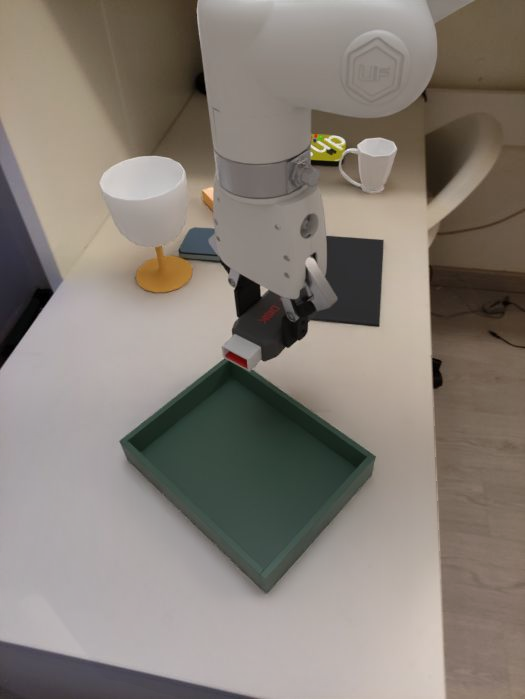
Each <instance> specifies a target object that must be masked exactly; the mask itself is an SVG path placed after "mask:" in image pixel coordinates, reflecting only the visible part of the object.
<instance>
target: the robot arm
mask: <svg viewBox="0 0 525 699" xmlns="http://www.w3.org/2000/svg"><path fill="white" fill-rule="evenodd" d="M475 1H476V0H197V5H196V6H197V7H196V14H197V16H196V17H197V27H198V28H197V30H198V36H199V42H200V43H199V44H200V52H201V60H202V68H203V77H204V84H205V85H204V86H205V92H206V101H207V108H208V117H209V124H210V133H211V140H212V141H211V142H212V147H213V154H214V155H213V156H214V165H215V172H214V176H213V177H214V179H213V186H214V189H213V211H212V212H213V213H212V214H213V228H214V229H215V233H214V234H213V235H212V236H211V237H210V238H209V239H208V242H209V244H210V246H211V247H212V248H213V250H214V251H215V252H216V254H217V255H218V257H219V256H220V261H219V262H220V264H221V266H222V267H223V269H224V270H225V271H226V273H227V274H228V277H227V282H228V284H229V286H231V287H232V288H234V289H233V296H234V304H235V314H236V317H237V319H238V318H239V317H241V316H242V315H243V314H244V313H245V312H246V311H247V310H248V309H249V308H250V307H251V306H252V305H253V304H254V303H255V302H256V301H257V300H258V299H259V298H260V297H261V296H262V293H261V291H262V290H261V287H263V288H264V289H267V291H268V290H270V291H272V292H274V293H276V294H278V295H280V297H281V300H282V303H283V306H284V309H285V312H286V314H285V315H284V316H283V317H282V340H283V345H284V346H285V348H287V349H289V348H291V347H292V346H293V345H294V344H295V343H296V342H298V341H301V340H303V339H305V337H306V336H307V334H308V331H309V322H308V315H310V314H312V313H313V312H316V311H317V312H318V311H322V310H325V309H328V308H329V307H331V306H332V305H333V304H334V303H335V302H336V301H337V300H338V299H337V296H336V294H335V292H334V291H333V289H332V287H331V286H330V284H329V283H328V281H327V279H326V278H325V275H326V268H327V240H326V236H327V225H326V216H325V209H324V203H323V198H322V193H321V189H320V185H319V180H320V177H321V176H320V175H321V171H320V169H318V168H316V167H314V165H311V134H312V114H313V113H312V110H315V111H320V112H324V113H329V114H333V115H339V116H342V117H343V116H345V117H350V118H356V119H357V118H358V119H378V118H384V117H388V116H392V115H395V114H398V113H399V112H401V111H403V110H405V109H407V108H408V107H409V106H411V105H412V104H413V103H414V102H416V100H418V99H419V97H420V96H422V95H423V93H424V91H425V90H426V88H427V87H428V85H429V84H430V82H431V79H432V78H433V74H434V72H435V69H436V64H437V60H438V59H437V58H438V37H437V31H436V30H437V29H436V25H435V24H437V23H438V22H440V21H441V20H443V19H445V18H447V17H448V16H450V15H452V14H454V13H455V12H457V11H459V10H461V9H462V8H464V7H466V6H467V5H470V4H471V3H474V2H475ZM311 292H312V293H311ZM312 294H313V295H312ZM299 297H300V300H299V301H298V302H296V303H295V300H294V299H297V298H299Z"/></svg>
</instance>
